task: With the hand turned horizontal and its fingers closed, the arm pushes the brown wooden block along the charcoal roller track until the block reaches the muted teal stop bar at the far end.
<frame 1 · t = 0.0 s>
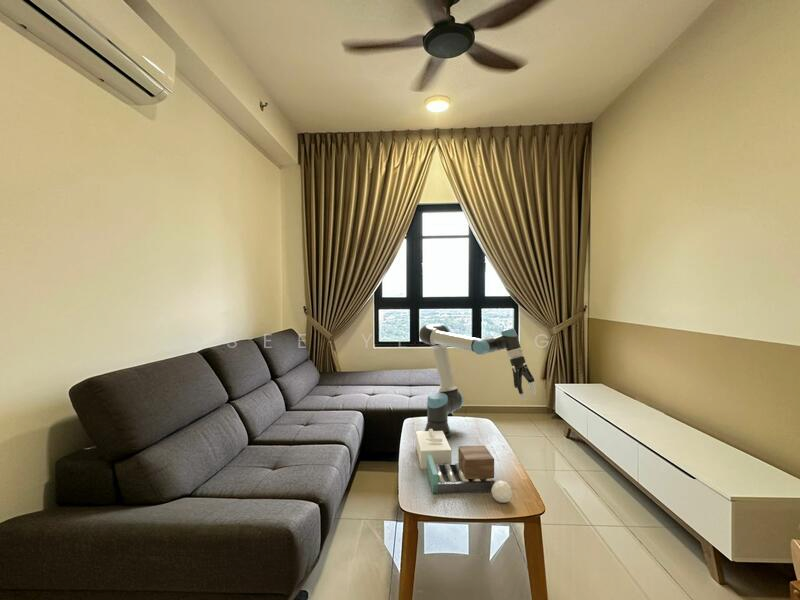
hand: (529, 397, 191), 28 cm above the table, tool tilted 20°, fingers open, 13 cm apart
geometric ball: (501, 501, 143), on the table
teal stop bar: (432, 482, 158), on the table
roller track: (462, 481, 159), on the table
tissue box: (432, 457, 184), on the table
brown wooden block: (475, 461, 159), point 9 cm above the table, slide at 0.0 cm
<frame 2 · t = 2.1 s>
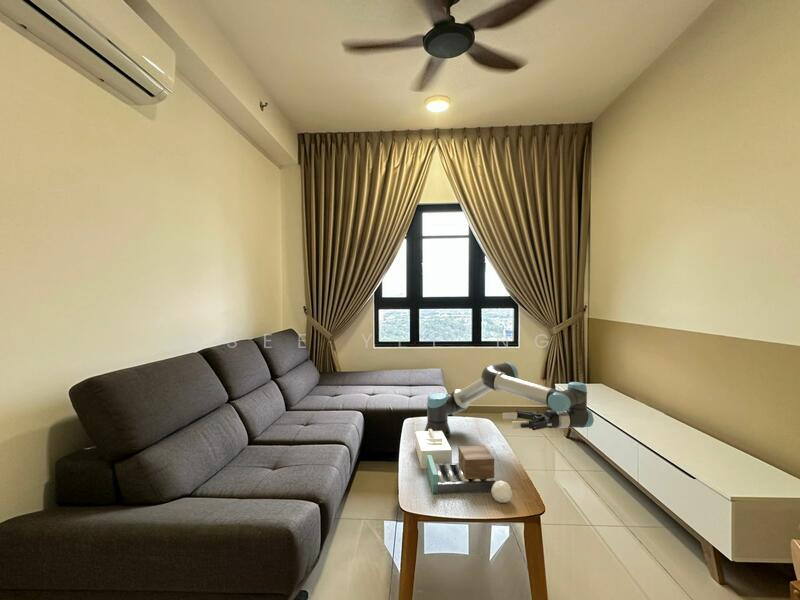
hand: (507, 420, 160), 26 cm above the table, tool horizontal, fingers open, 11 cm apart
nothing on the table moved.
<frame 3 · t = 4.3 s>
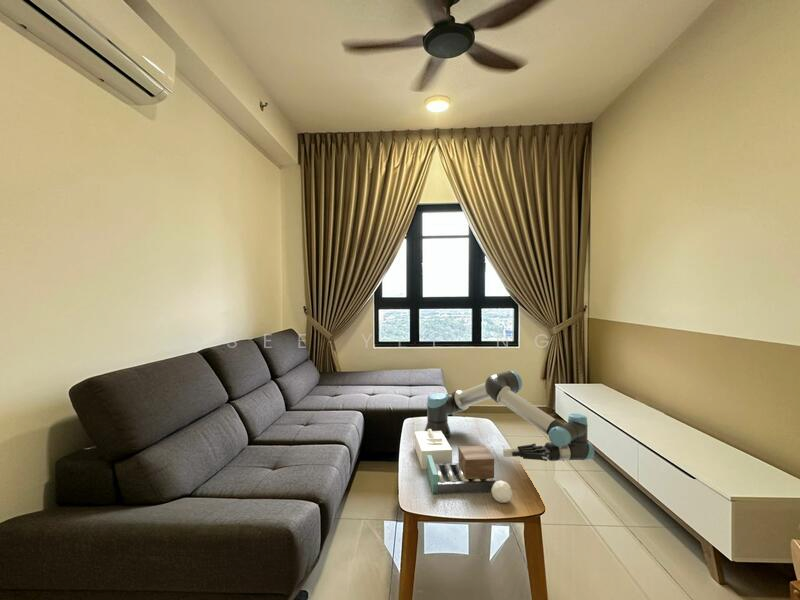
hand: (504, 453, 160), 12 cm above the table, tool horizontal, fingers closed
nothing on the table moved.
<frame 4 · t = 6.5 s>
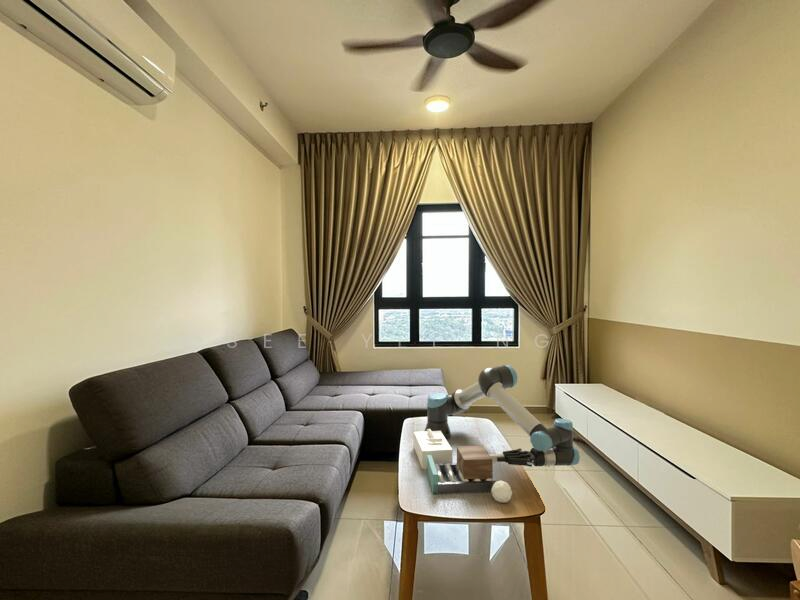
hand: (488, 458, 158), 10 cm above the table, tool horizontal, fingers closed
brown wooden block: (473, 461, 159), point 9 cm above the table, slide at 0.8 cm, touching gripper
everything else where it was.
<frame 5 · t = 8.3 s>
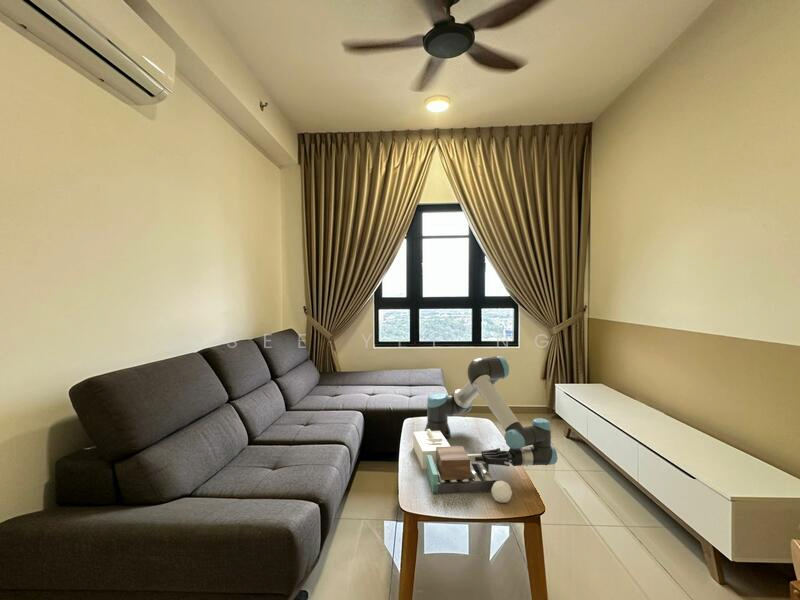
hand: (466, 458, 158), 10 cm above the table, tool horizontal, fingers closed
brown wooden block: (452, 462, 158), point 9 cm above the table, slide at 10.2 cm, touching gripper
everything else where it was.
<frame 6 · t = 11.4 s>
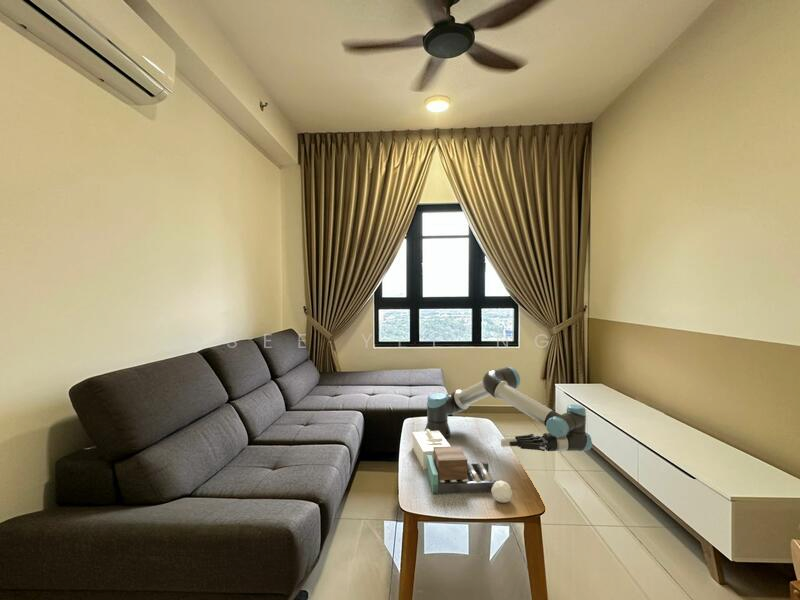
hand: (501, 442, 159), 17 cm above the table, tool horizontal, fingers closed
brown wooden block: (449, 462, 158), point 9 cm above the table, slide at 11.4 cm
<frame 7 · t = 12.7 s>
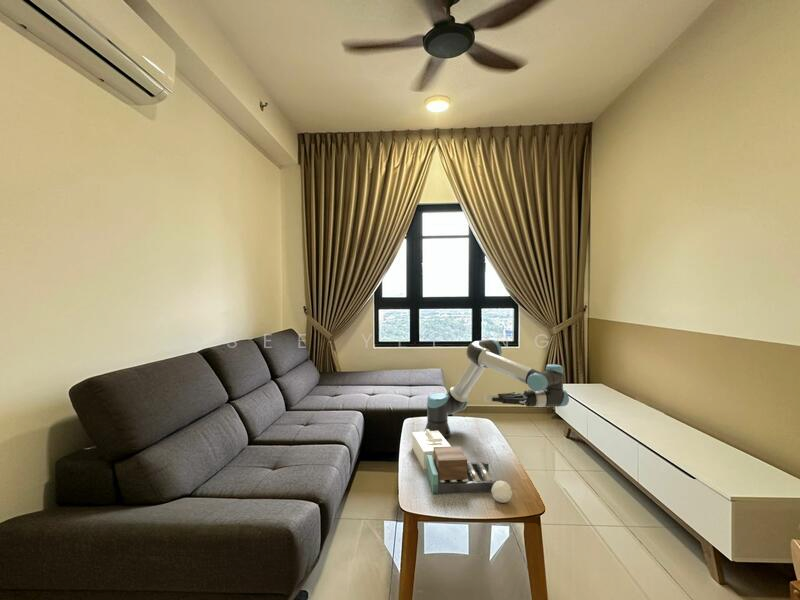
hand: (484, 398, 171), 33 cm above the table, tool horizontal, fingers closed
nothing on the table moved.
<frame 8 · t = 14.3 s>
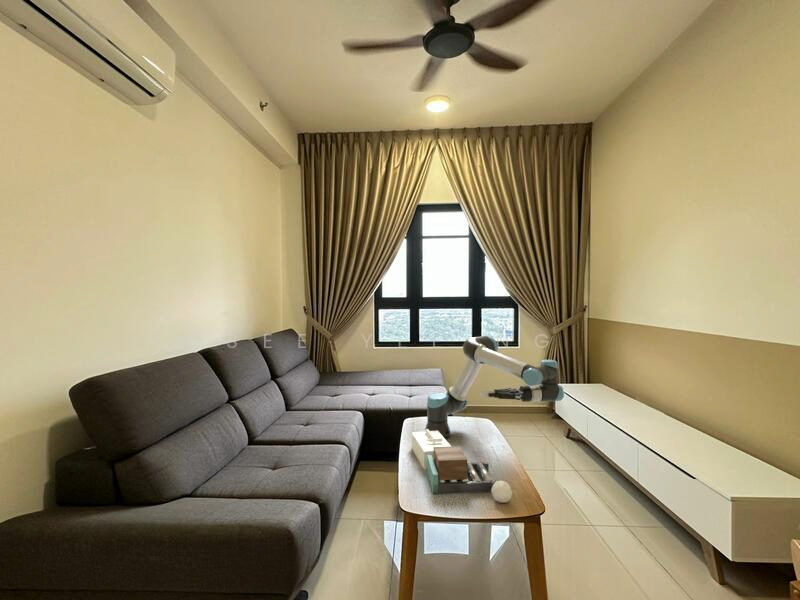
hand: (481, 394, 173), 34 cm above the table, tool horizontal, fingers closed
at the end: brown wooden block slide at 11.4 cm; the gripper is holding nothing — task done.
